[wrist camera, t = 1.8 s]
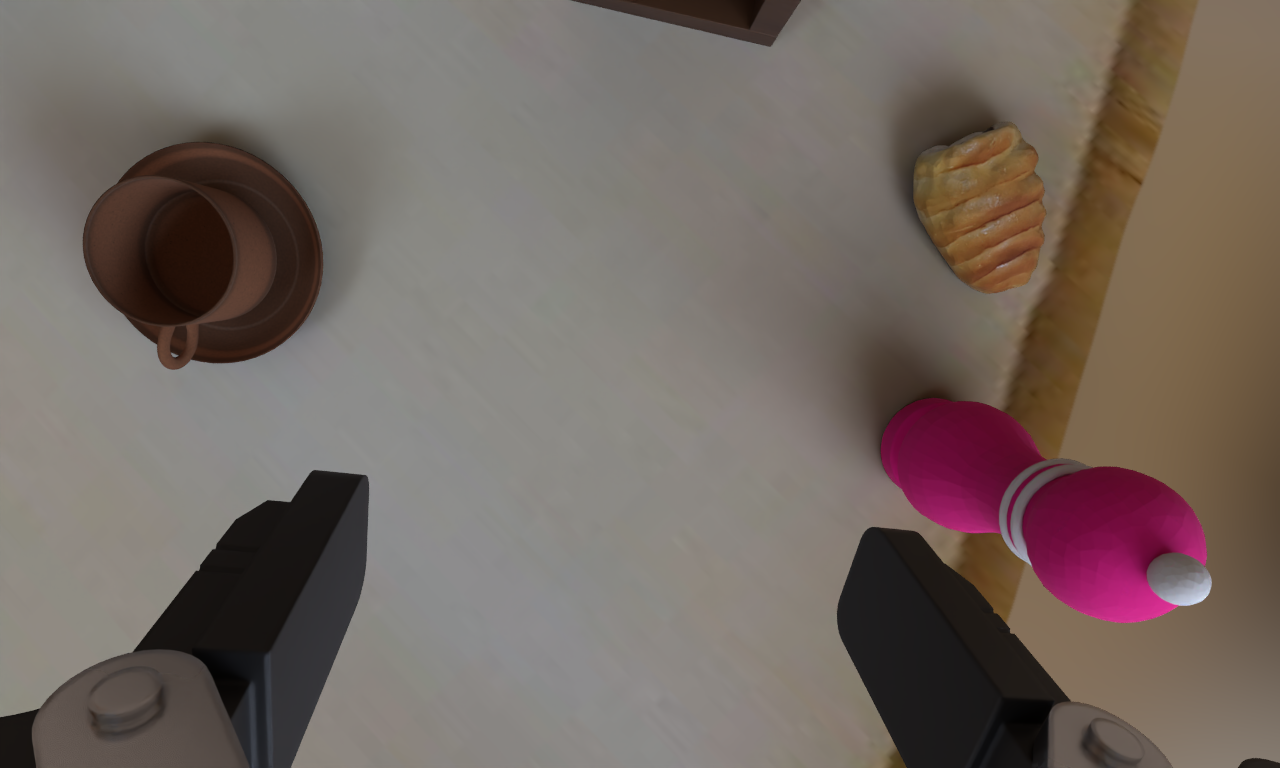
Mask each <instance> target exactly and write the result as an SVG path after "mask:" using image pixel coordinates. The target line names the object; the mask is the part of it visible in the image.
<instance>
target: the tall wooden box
mask: <svg viewBox="0 0 1280 768" xmlns="http://www.w3.org/2000/svg"><path fill="white" fill-rule="evenodd" d="M572 1H576V2H581V3H585V4H589V5H593V6H598V7H602V8H606V9H611V10H615V11H619V12H624V13H628V14H632V15H636V16H641V17H645V18H649V19H654V20H658V21H662V22H666V23H671V24H675V25H679V26H684V27H688V28H692V29H696V30H701V31H705V32H709V33H714V34H718V35H722V36H726V37H731V38H735V39H739V40H744V41H748V42H752V43H756V44H761V45H765V46H769V47H771V45H772V44H773V42H774V41H775V39H776V38H777V36H778V34H779V33H780V31H781V30H782V28H783V27H784V25H785V24H786V22H787V21H788V19H789V18H790V16H791V15H792V13H793V12H794V10H795V9H796V7H797V5H798V4H799V2H800V1H801V0H572Z"/></svg>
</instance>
